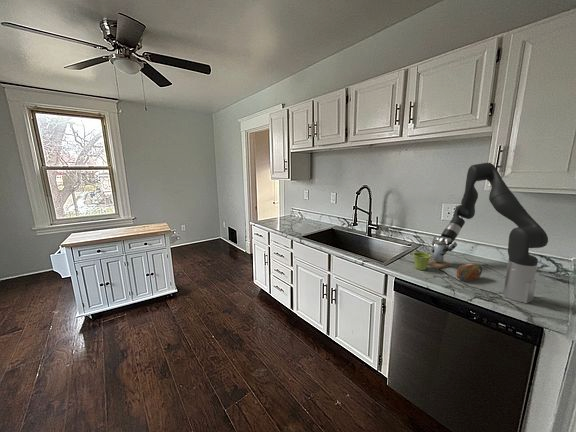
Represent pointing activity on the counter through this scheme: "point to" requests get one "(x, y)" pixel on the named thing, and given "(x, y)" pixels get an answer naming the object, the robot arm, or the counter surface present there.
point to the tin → (469, 272)
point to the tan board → (439, 264)
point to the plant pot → (421, 260)
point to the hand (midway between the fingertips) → (437, 253)
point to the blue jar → (438, 251)
